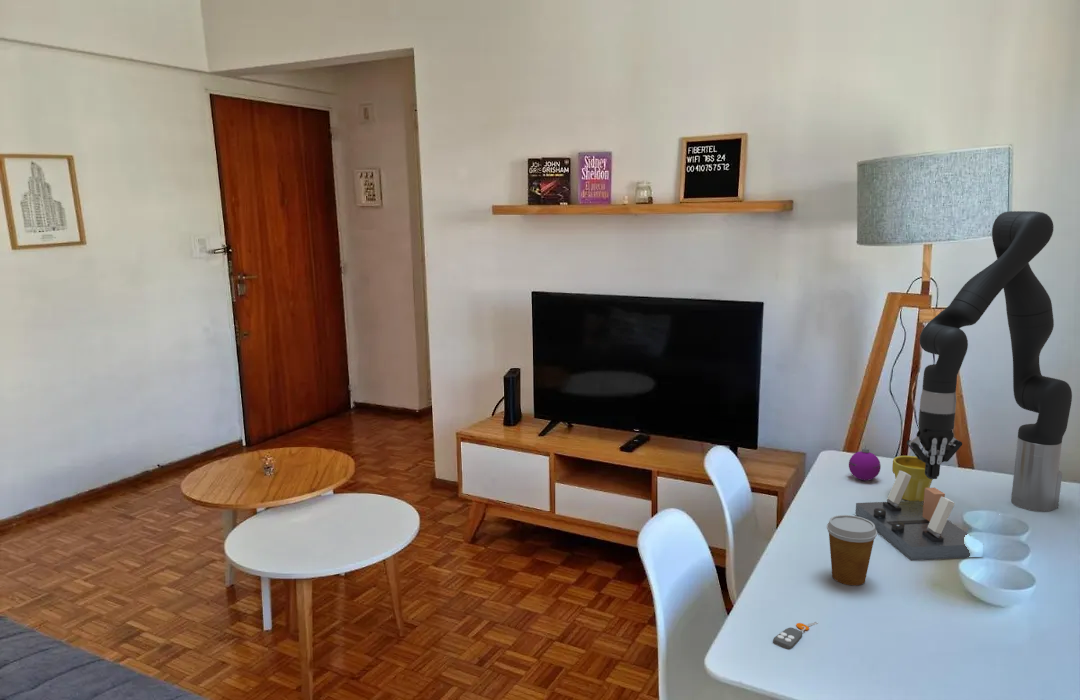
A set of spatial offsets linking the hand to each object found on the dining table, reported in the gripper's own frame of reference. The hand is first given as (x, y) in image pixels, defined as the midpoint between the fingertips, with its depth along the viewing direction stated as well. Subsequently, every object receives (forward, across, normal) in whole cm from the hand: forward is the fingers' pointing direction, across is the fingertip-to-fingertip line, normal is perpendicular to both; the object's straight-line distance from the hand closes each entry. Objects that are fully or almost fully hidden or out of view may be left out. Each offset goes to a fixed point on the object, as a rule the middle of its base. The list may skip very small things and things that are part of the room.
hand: (931, 478), depth 179 cm
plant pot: (+11, -4, -14) cm, 18 cm away
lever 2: (+6, +9, +17) cm, 20 cm away
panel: (+10, +8, +8) cm, 16 cm away
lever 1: (+6, +9, 0) cm, 11 cm away
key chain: (+11, +51, +46) cm, 70 cm away
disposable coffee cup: (+11, +33, +27) cm, 44 cm away
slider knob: (+7, +4, +9) cm, 12 cm away
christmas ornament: (+11, +2, -28) cm, 30 cm away
